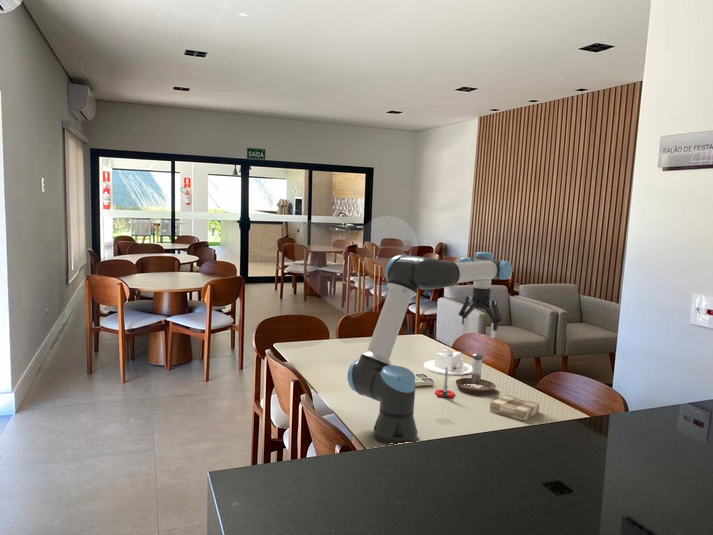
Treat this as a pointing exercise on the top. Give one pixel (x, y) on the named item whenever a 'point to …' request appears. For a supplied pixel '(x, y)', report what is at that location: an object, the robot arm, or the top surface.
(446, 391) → the tow hook
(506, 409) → the oak hitch block
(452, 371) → the dish
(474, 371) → the steel pin
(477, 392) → the plant saucer
